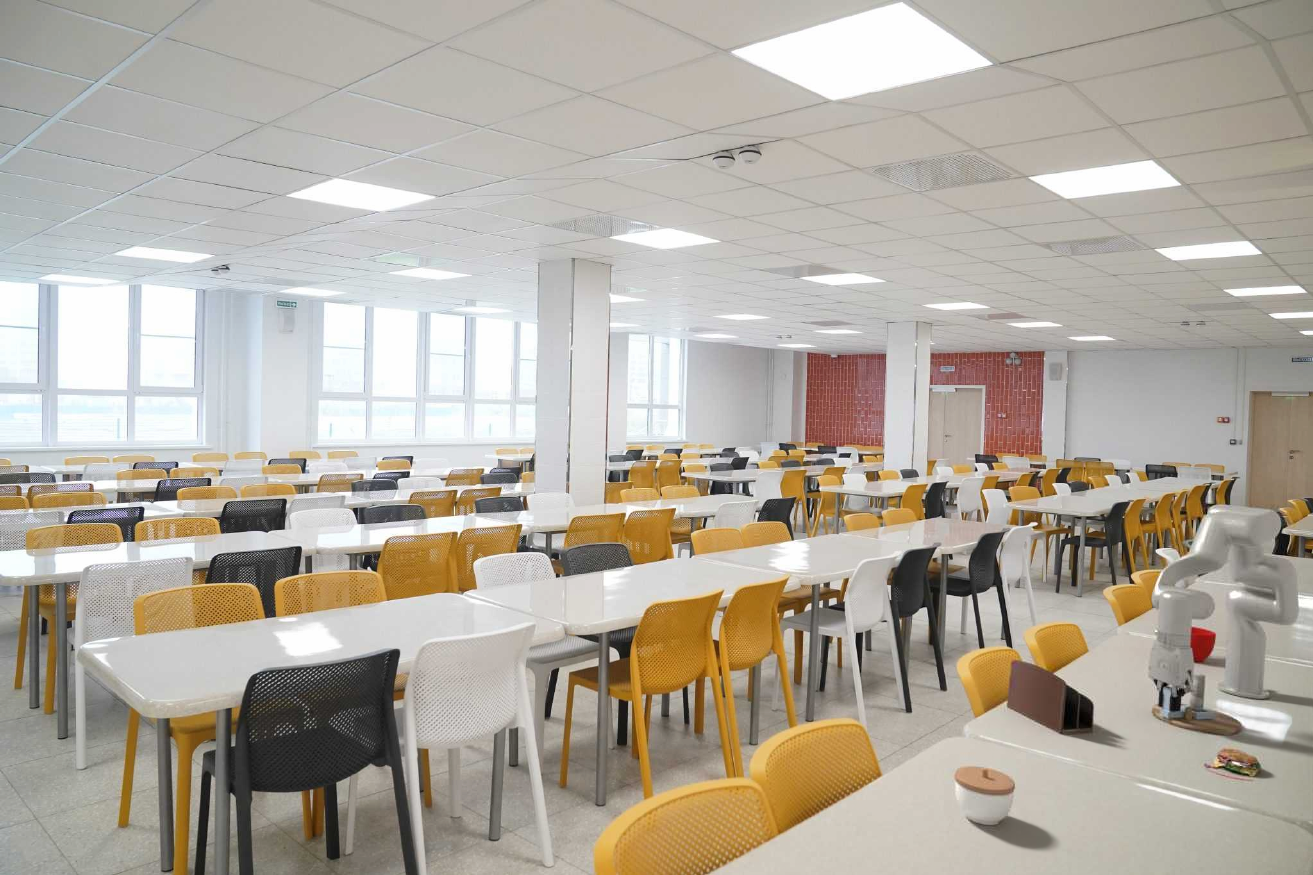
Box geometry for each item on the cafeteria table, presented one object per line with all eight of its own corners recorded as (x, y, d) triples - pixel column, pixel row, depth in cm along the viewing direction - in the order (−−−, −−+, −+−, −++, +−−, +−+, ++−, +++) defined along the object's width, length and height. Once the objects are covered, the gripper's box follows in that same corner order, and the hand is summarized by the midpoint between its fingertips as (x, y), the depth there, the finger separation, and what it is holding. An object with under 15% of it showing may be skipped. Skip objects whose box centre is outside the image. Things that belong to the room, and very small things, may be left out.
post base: (1169, 702, 237) (1172, 659, 237) (1253, 725, 222) (1256, 679, 221) (1139, 715, 225) (1142, 670, 225) (1225, 740, 209) (1228, 691, 209)
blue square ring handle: (1195, 710, 227) (1197, 682, 227) (1215, 718, 221) (1217, 690, 221) (1154, 712, 223) (1156, 684, 223) (1173, 720, 218) (1175, 691, 217)
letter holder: (1060, 735, 208) (1064, 678, 208) (1006, 707, 227) (1009, 655, 227) (1093, 732, 211) (1097, 676, 210) (1036, 705, 230) (1040, 654, 229)
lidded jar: (943, 804, 166) (945, 757, 166) (995, 804, 167) (998, 757, 166) (968, 831, 155) (970, 780, 155) (1023, 831, 156) (1026, 781, 156)
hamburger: (1201, 752, 202) (1203, 727, 202) (1273, 772, 192) (1275, 746, 192) (1186, 767, 192) (1187, 741, 192) (1260, 788, 182) (1262, 761, 182)
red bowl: (1213, 656, 291) (1215, 628, 291) (1214, 667, 277) (1216, 637, 277) (1169, 649, 298) (1171, 621, 298) (1168, 659, 284) (1170, 630, 284)
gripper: (1136, 631, 227) (1132, 699, 227) (1190, 648, 211) (1186, 720, 212) (1157, 630, 229) (1153, 697, 230) (1213, 647, 214) (1208, 718, 214)
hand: (1169, 708), depth 221 cm, fingers closed on blue square ring handle, 2 cm apart
